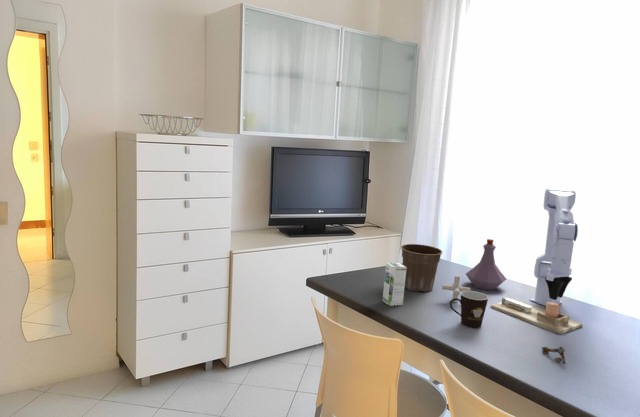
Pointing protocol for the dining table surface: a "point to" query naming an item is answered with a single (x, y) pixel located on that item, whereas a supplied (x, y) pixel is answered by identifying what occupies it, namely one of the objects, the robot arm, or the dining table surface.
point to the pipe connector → (455, 288)
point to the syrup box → (394, 284)
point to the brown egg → (552, 309)
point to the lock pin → (517, 304)
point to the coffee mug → (471, 308)
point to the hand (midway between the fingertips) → (555, 297)
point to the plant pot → (420, 266)
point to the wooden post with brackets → (562, 350)
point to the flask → (486, 270)
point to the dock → (540, 318)
